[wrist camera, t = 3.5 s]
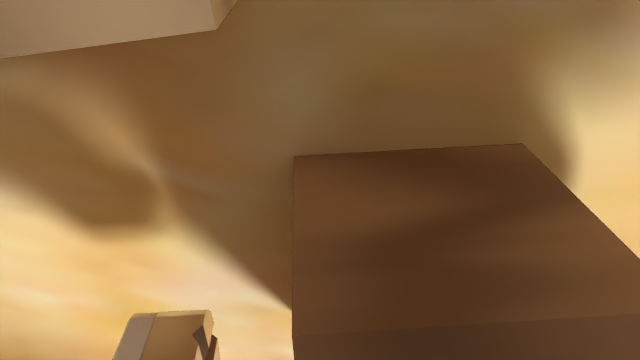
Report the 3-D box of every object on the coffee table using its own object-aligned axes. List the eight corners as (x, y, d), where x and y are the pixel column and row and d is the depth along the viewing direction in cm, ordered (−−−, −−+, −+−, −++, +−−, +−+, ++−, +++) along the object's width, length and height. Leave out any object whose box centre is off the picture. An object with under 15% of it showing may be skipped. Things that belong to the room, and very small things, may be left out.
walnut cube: (520, 142, 10) (692, 309, 6) (488, 308, 13) (590, 513, 8) (293, 154, 10) (292, 335, 6) (306, 319, 12) (311, 533, 8)
